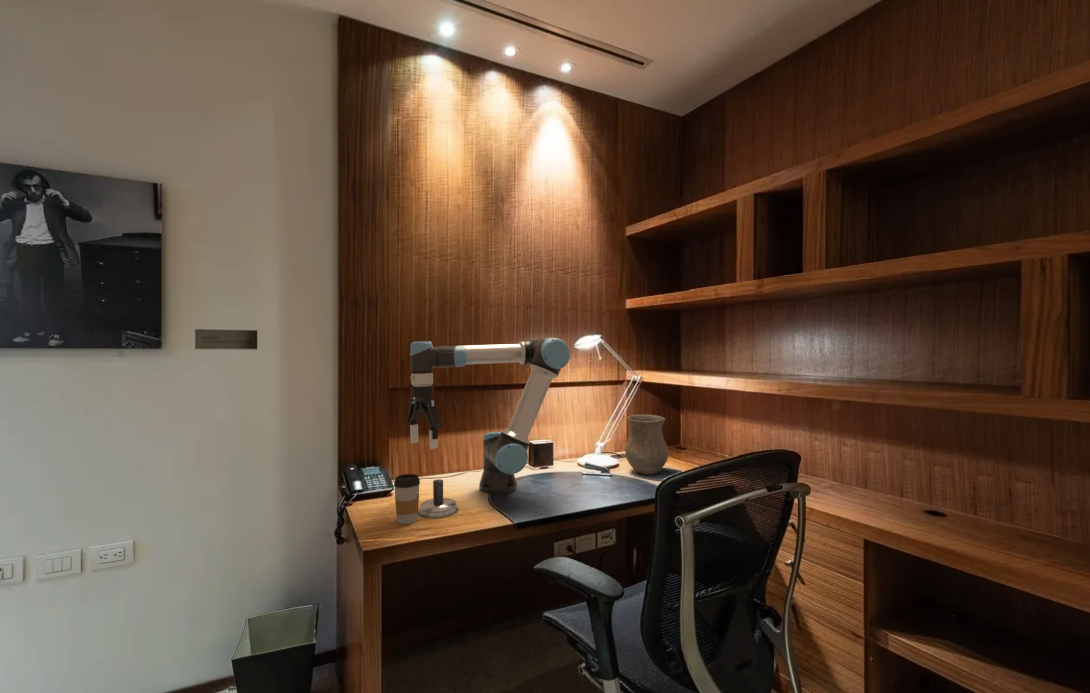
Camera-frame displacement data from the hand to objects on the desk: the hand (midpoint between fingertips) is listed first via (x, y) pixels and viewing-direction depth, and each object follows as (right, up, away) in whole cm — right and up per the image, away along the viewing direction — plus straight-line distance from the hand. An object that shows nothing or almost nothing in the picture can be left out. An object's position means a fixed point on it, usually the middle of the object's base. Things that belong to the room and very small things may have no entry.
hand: (423, 445), depth 163 cm
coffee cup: (-3, -23, -10) cm, 26 cm away
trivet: (+5, -23, -1) cm, 24 cm away
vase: (+89, -22, +46) cm, 102 cm away
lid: (+5, -23, -1) cm, 23 cm away
